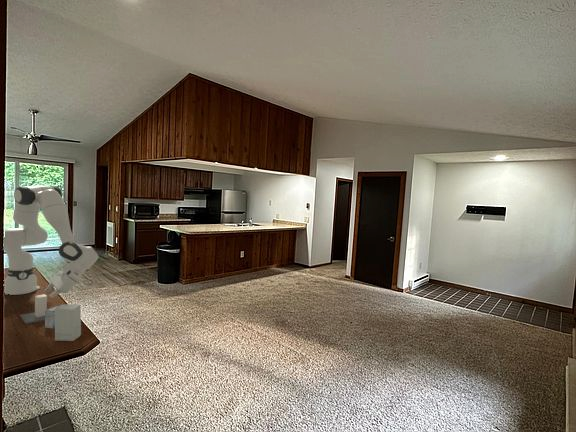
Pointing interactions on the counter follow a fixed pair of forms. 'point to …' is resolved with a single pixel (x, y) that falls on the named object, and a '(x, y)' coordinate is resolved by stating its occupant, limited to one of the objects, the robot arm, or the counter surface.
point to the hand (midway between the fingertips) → (48, 294)
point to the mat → (31, 318)
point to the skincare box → (67, 322)
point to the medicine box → (50, 318)
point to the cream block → (40, 305)
